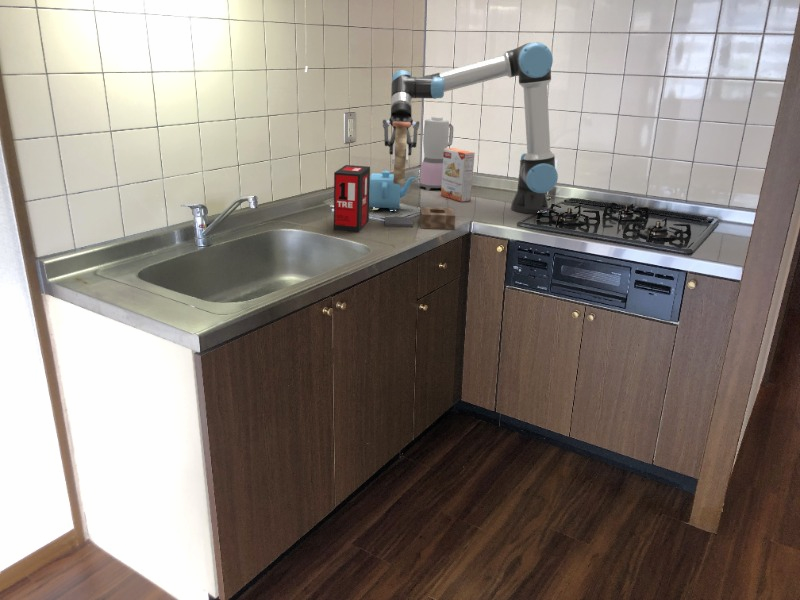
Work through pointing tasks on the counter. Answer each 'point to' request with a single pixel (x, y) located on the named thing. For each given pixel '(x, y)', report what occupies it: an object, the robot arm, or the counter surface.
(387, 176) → the teakettle
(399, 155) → the wheel peg
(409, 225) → the rubber mat
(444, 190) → the cracker box
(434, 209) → the eye block
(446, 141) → the blender
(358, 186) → the cleaning product box
